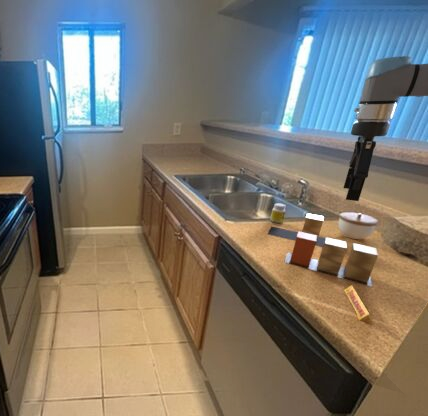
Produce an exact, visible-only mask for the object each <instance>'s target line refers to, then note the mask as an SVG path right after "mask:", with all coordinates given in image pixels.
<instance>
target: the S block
mask: <svg viewBox="0 0 428 416" xmlns="http://www.w3.org/2000/svg"><path fill="white" fill-rule="evenodd" d="M297 232H298V234H297V237H296V241H294V242H295V243H294V245H293V249H292V252H291V253H292V256H291V260H290V262H293V263H297V264H301V265H304V266H308V267H309V265H310V261H311V258H312V257H313V255H314V251H315V248H316V245H315V244H316V241H317V235H313V234H308V233H303V232H302V231H297ZM312 259H313V258H312Z"/></svg>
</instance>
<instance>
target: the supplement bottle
mask: <svg viewBox="0 0 428 416" xmlns="http://www.w3.org/2000/svg"><path fill="white" fill-rule="evenodd" d="M285 215H286V204H285V203H278V202H277V203H274V205H273V208H272V210H271V214H270V219H269V223H270V224H272V225H276V226H280V225H283V223H284V219H285Z"/></svg>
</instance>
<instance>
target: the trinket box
mask: <svg viewBox="0 0 428 416" xmlns="http://www.w3.org/2000/svg"><path fill="white" fill-rule="evenodd" d="M377 225H379V220H378V219H376V218H375V217H373V216H371V215H367V214H362V213H361V212H358V213H357V212H342V213H340V214H339V218H338V222H337V227H338V230H339V232H340V233H341V234H342V235H343V236H344V237H346V238H349V239H352V240H363V239H366V238H369V237H370V236H371V235H372V234H373V233H374V231H375V230H376V228H377Z"/></svg>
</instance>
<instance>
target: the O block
mask: <svg viewBox="0 0 428 416" xmlns="http://www.w3.org/2000/svg"><path fill="white" fill-rule="evenodd" d="M324 218H325V217H324V215H318V214H312V213H306V216H305V219H304V223H303V227H302V230H301V232H303V233H308V234H313V235H317V240H318V237H320V233H321V229H322V227H323V223H324ZM316 243H317V241H316Z"/></svg>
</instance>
